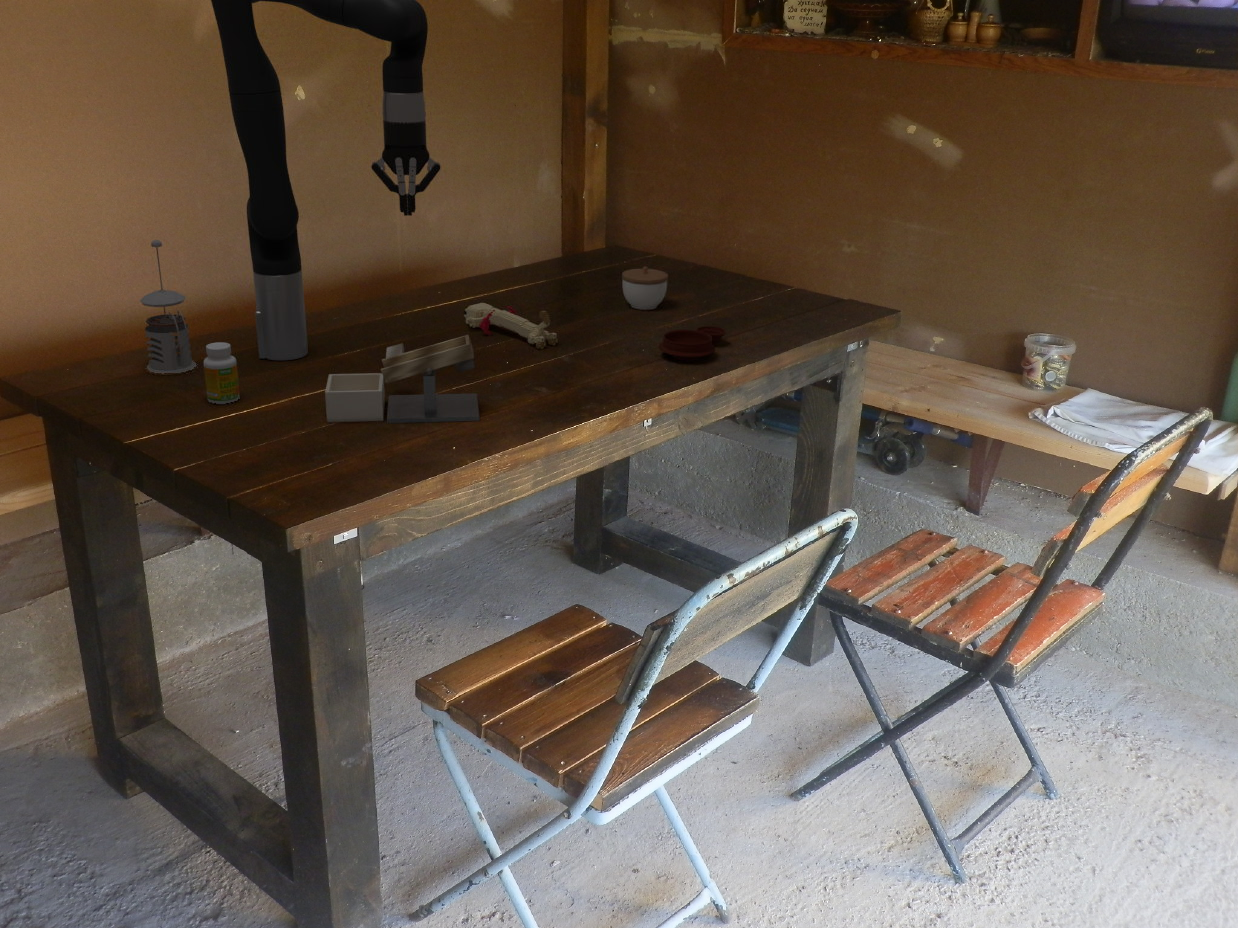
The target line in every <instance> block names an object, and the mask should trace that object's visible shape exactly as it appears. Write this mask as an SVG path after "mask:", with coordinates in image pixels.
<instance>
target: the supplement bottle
mask: <svg viewBox="0 0 1238 928" xmlns="http://www.w3.org/2000/svg"><path fill="white" fill-rule="evenodd" d="M205 351H206V355H207V357H205V358H204V360H203V373H204V378H205V379H204V380H205V382H204V383H205V388H206V390H205V391H206V398H207V399H206V400H207V401H208V402H209V403H211V402H212V403H211V404H214V403H216V404H215V405H227V404H226V403H229V404H231V403H230V402H233V403H235V402H234V401H236V402H237V401H239V400H240V398H241V397H240V396H241V395H240V394H241V393H240V385H239V384H240V383H239V372H238V363H237V358H236V357H235V356H233V355H231V354H232V347H231V344H230V343H228V342H212V343H209V344H208V343H207V345H206V346H205ZM238 399H239V400H238Z"/></svg>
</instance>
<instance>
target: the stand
mask: <svg viewBox="0 0 1238 928" xmlns="http://www.w3.org/2000/svg"><path fill="white" fill-rule="evenodd" d="M422 376H423V377H422V378H423V394H396V395H395V394H393V395H391V394H389V395H388V398H387V399H388V401H387V412H386V413H387V414H386V423H387V424H405V423H407V424H408V423H410V424H411V423H412V424H413V423H444V422H445V423H446V422H447V423H449V422H452V423H453V422H480V411H479V401H478V394H477V393H476V392H475V393H439V394H438V393H437V391H436V390H437V389H436V369H434V370H432V374H430V375H428V374H427V372H424V373H423V375H422Z"/></svg>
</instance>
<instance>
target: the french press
mask: <svg viewBox="0 0 1238 928" xmlns="http://www.w3.org/2000/svg"><path fill="white" fill-rule="evenodd" d="M150 246H151V247H152V248H156V257H157V265H158V274H159V281H160V290H159V289H158V290H155V291H152V292H150V293H148V294H145V295H144V296H143V297H142V298H141V299H140V301H139V302H140V303H141V304H142V305H143V306H145V307H149V308H150V307H152V308H163V313H164V314H158V315H157V314H156V315H153V316H151V317H149V318H148V317H147V318H146V320H145V323H146V324H147V325H146V326H145V327H144V332H145V339H149V338H150V339H149V340H147V341H146V346H148V347H147V352H150V351H151V352H150V353H148V358H149V360H148V365H146V367H147V369H148V370H149V371H150V372H154V373H162V374H164V373H181V372H186V371H188V370H192V369H194V367H196V366H197V365H198V364H197V363H196V361H194V360H193V359H192V351H191V350H192V349H191V343H190V342H191V341H190V332H189V325H188V324H187V322H186V317H185V316H183V314H182V311H180V310H179V309H177V314H173V312H171V311H169V312H168V314H166V313H167V312H166V307H173V306H177V305H180V304H182V303H184V301H185V300H186V298H187V297H186V296H185V295H183V294H182V293H180V292H177V291H174V290H169V289H163V288H164V287H163V282H162V281H163V280H162V273H161V264H160V255H159V248H161V247H163V244H162V241H160V240H159V239H154V240H152V241H151V243H150ZM176 333H177V335H175V334H176ZM176 340H177V341H176ZM149 345H150V346H149ZM177 353H179V354H177ZM150 358H151V359H150ZM196 364H197V365H196Z"/></svg>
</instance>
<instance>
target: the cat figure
mask: <svg viewBox="0 0 1238 928" xmlns="http://www.w3.org/2000/svg"><path fill="white" fill-rule="evenodd" d="M506 308H508V311H507V310H502V309H499V308H496V307H494V306H493V305H491V304H488V303H485V302H480V303H476V304H472V305H468V307H467V308H465V309H464V310H463V314H464V315H463V317H464V318H465V324H466V325H469V327H472V328H473V329H475V328H480V329H481V330H482V331H484V334H486V335H488V336H492V334H491V331H490V330H489V329H490V326H491V325H494V326H496V327H500V328H505V329H507V331H509V330H510V331H512V332H514V333H517V334H518V335H519V336H521V337H523V338H525V339H527V343H528V344H531V345H535V348H537V349H538V350H543V349H544V348H545V347H546V346H547V344H549V345H550V346H556V345H557V344H558V343H559V337H557V333H555V332H549V331H548V330H545V329H546V328H548V327H549V326H550V325H551V317H550V316H549V313H548V311H546V310H541V311H540V312H539V317H540V319H541V323H539V324H536V323H533V322H530V320H528V319H527V318H523V317H521V316H519V315H517V314H516V310H515V309H514V308H513V307H511V306H509V305H507V306H506ZM546 341H547V342H546Z"/></svg>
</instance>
